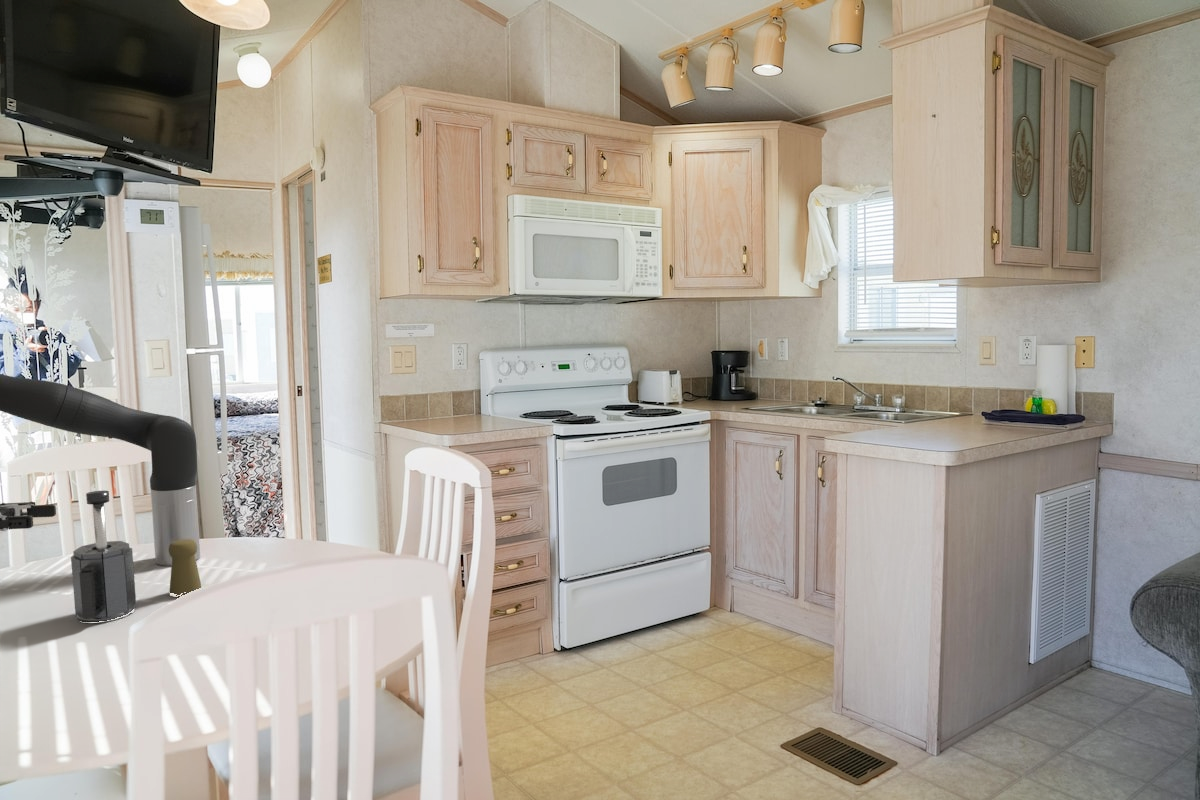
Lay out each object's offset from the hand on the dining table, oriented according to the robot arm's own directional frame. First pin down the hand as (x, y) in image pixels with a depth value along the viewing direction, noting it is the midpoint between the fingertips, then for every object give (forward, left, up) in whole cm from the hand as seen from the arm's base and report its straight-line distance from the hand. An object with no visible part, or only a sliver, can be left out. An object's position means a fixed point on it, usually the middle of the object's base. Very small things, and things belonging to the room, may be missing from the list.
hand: (43, 516), depth 152 cm
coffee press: (+1, +9, -20) cm, 22 cm away
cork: (-10, +20, -20) cm, 30 cm away
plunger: (0, +9, -17) cm, 19 cm away
